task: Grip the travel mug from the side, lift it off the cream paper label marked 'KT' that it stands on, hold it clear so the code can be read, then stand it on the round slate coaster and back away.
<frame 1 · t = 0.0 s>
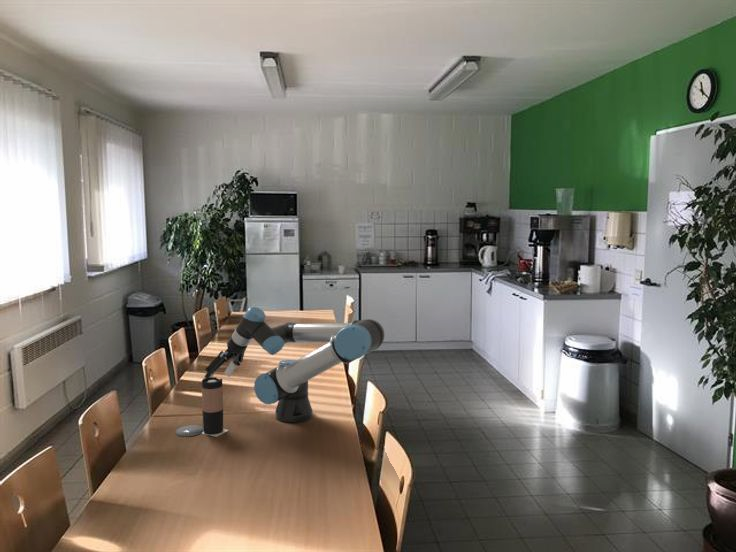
hand: (215, 378, 240), 15 cm above the table, tool tilted 35°, fingers open, 13 cm apart
travel mug: (213, 431, 224), resting on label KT
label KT: (213, 431, 224), on the table
slate coaster: (189, 431, 224), on the table
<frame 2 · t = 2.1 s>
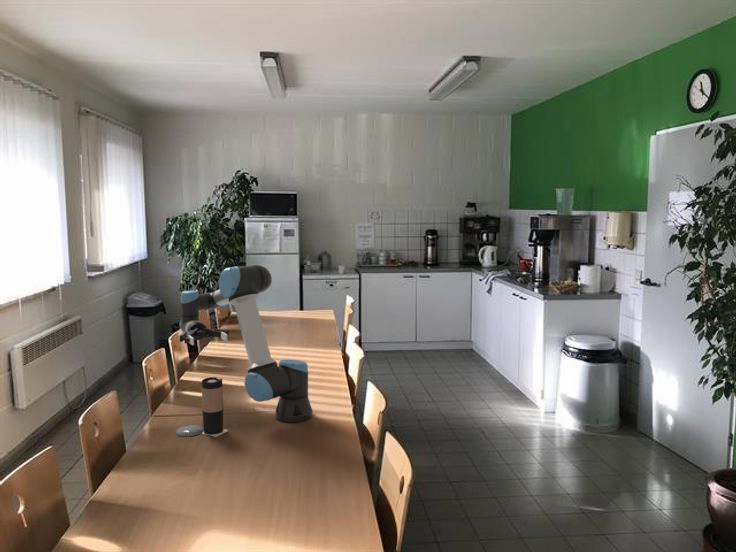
hand: (210, 339, 236), 32 cm above the table, tool horizontal, fingers open, 13 cm apart
nothing on the table moved.
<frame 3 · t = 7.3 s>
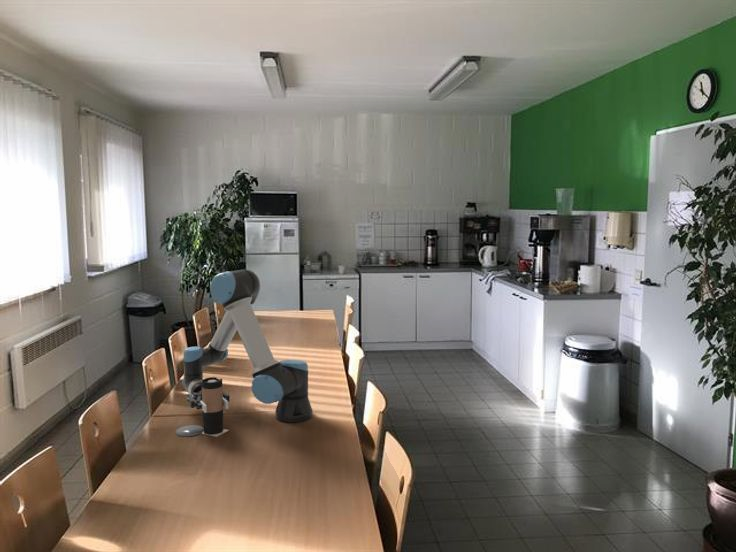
hand: (216, 407, 219), 11 cm above the table, tool horizontal, fingers closed on travel mug, 7 cm apart
travel mug: (213, 431, 224), resting on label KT, touching gripper
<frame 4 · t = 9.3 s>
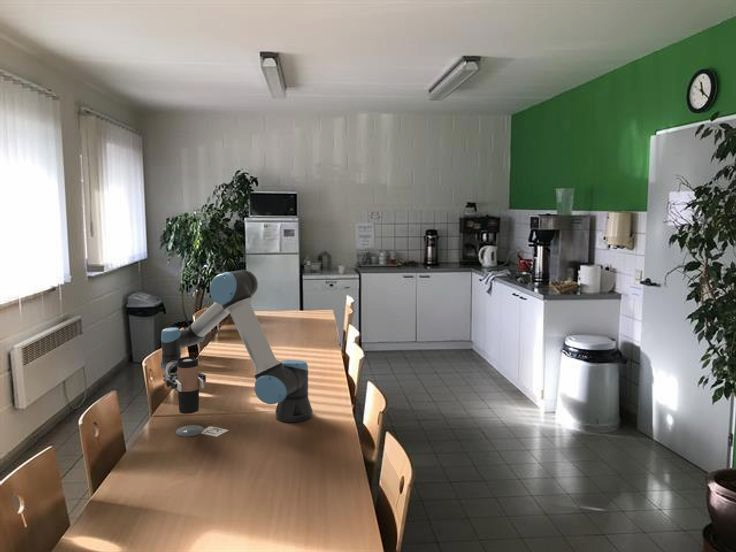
hand: (191, 386, 218), 19 cm above the table, tool horizontal, fingers closed on travel mug, 7 cm apart
travel mug: (189, 411, 223), point 8 cm above the table, touching gripper
when the fingers open (13 cm above the table, at t = 11.2 s): travel mug drops 2 cm, resting on slate coaster.
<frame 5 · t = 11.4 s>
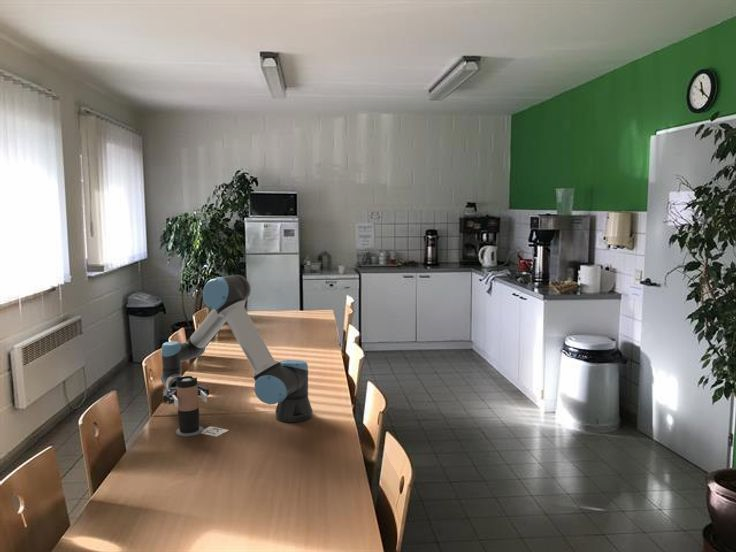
hand: (191, 401, 219), 13 cm above the table, tool horizontal, fingers open, 10 cm apart
travel mug: (189, 430, 224), resting on slate coaster
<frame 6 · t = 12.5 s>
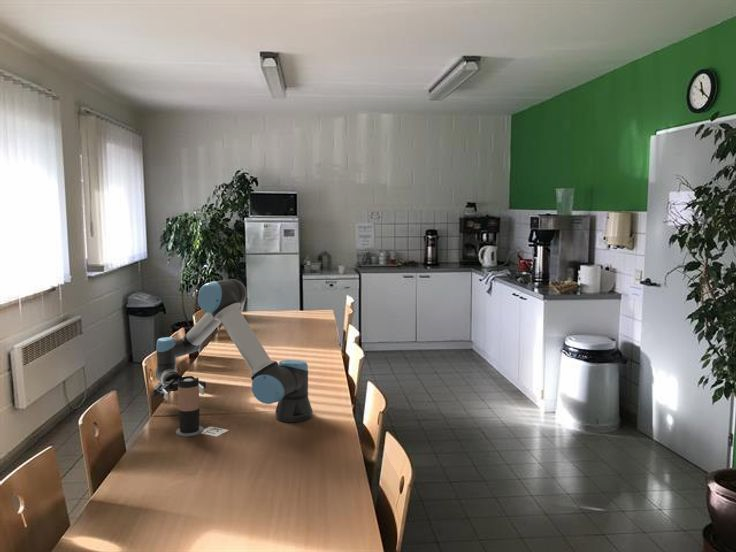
hand: (185, 394, 226), 14 cm above the table, tool horizontal, fingers open, 13 cm apart
nothing on the table moved.
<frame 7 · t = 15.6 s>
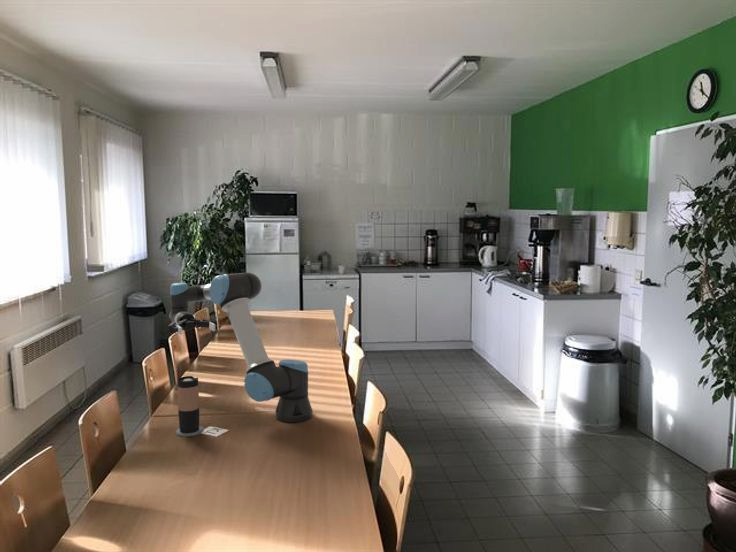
hand: (198, 329, 241), 35 cm above the table, tool horizontal, fingers open, 13 cm apart
nothing on the table moved.
at the end: travel mug 0.1 cm from the slate coaster (horizontally); travel mug tilted 0°; the gripper is holding nothing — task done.
